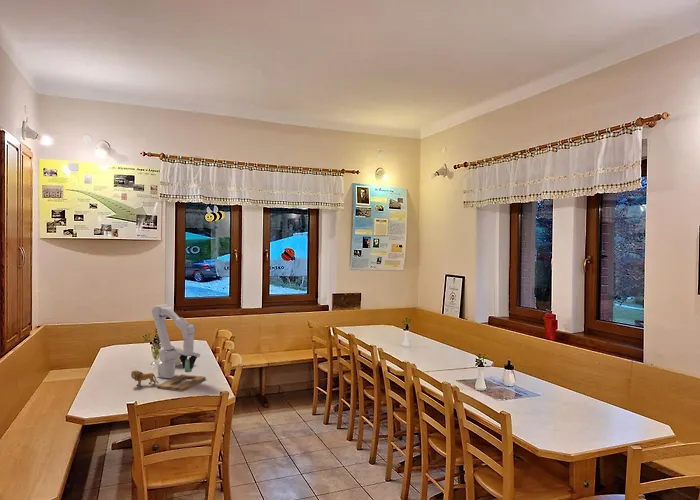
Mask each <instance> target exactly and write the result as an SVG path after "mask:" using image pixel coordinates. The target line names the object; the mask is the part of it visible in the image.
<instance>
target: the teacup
mask: <svg viewBox="0 0 700 500" xmlns="http://www.w3.org/2000/svg"><path fill="white" fill-rule="evenodd" d="M175 349H176V351H177V352H183V347H175ZM180 356H181V355H178V358H177V359H176V361H175V367H176V366H180V365H181V363H182V362H181V360H180V358H179V357H180Z"/></svg>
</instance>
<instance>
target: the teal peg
mask: <svg viewBox="0 0 700 500" xmlns="http://www.w3.org/2000/svg"><path fill="white" fill-rule="evenodd" d="M192 371H193V368H192V369H190V361H189V358H187V359H186V360H185V368H184V372H185V373H192Z"/></svg>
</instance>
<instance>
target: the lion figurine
mask: <svg viewBox="0 0 700 500" xmlns="http://www.w3.org/2000/svg"><path fill="white" fill-rule="evenodd" d="M130 378H132V379H133V380H134V382H135V381H136V382H137V386H138V387H141V385H142V381H147V380H148V379H149V381H150V382H148V384H149V385H151V384H152V382H153V384H152V385H153V386H156V384H160V383H159V381H157V376H156V375H155V373H153V372H148V373H144V372H143V371H139V370H136V369H134V370H132V371H131V373H130Z"/></svg>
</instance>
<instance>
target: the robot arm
mask: <svg viewBox="0 0 700 500" xmlns="http://www.w3.org/2000/svg"><path fill="white" fill-rule="evenodd" d="M151 313H152V317H153V321H154V322H153V323H154V324H155V328H156V331H157V335H158V339H159V343H160V346H161V348H160V350H159V351H158V353H159V363H158V364H157V376H156V378H161V379H173V378H175V377H177V376H179V375H178V374H177V373H176V366H175V361H176V359H177V358H178V355H181V356H180V357H179V358H180V360H181V362H180V363H181V364H182V367H183V369H185V360H186V359H189V361H190V369H192V370H193V369H194V365H195V362H196V360H197V359H198V358H200V357H201V353H199V352H194V346H195V342H194V341H195V340H194V339H195V336H194V335H195V334H196V332H197V328H196V326H195V324H193V323H191V324H190V323H189V322H188V321H187V320H186V319H185V318H184V317H180V316H179V315H178V314H177V313H176V312H175V311H174V310H173V306H171V305H170V304H169V303H165V304H160V305H158V304H157V305H154V306H153V307H152V309H151ZM166 318H169V319H171V320H172V321H174V324H175V327H177V328H178V329H179V330H180V331H181V334H182V339H183V342H182V343H183V345H182V346H183V347H182V348H183V352H177V351H176V349H175V348H176V347H175V346H174V345H172V344H171V340H170V336H169V333H168V330H167V327H166V323H165V320H166Z"/></svg>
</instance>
